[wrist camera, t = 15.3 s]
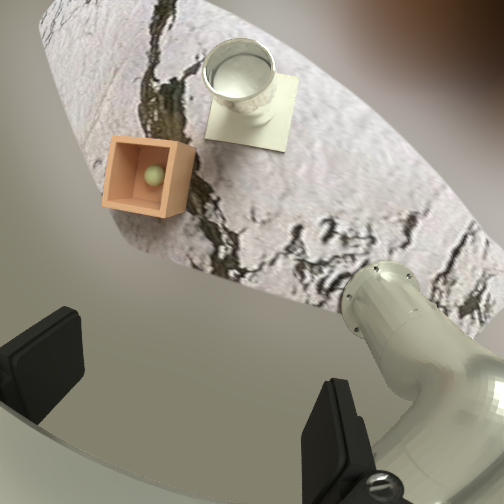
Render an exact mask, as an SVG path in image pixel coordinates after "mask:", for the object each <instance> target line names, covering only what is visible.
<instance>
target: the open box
mask: <svg viewBox="0 0 504 504" xmlns="http://www.w3.org/2000/svg"><path fill="white" fill-rule="evenodd" d="M195 153H196V148H194V147H191V146H189V145H186V144H183V143H181V142H178V141H169V140H160V139H150V138H139V137H128V136H114V135H112V138H111V143H110V149H109V155H108V161H107V168H106V175H105V182H104V190H103V198H102V207H107V208H113V209H118V210H124V211H129V212H134V213H139V214H145V215H150V216H155V217H160V218H168V217H171V216H174V215H177V214H180V213H183V212H185V211H186V204H187V198H188V192H189V186H190V180H191V175H192V169H193V164H194V158H195ZM153 164H157V165H160V166H162V167H163V168H164V170H165V172H166V173H165V179H164V182H163V183H162V184H160V185H158V186H151V185H149V184H148V183H147V182H146V181H145V178H144V173H145V170H146V169H147V168H148V167H149V166H150V165H153Z"/></svg>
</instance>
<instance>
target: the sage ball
mask: <svg viewBox="0 0 504 504" xmlns="http://www.w3.org/2000/svg"><path fill="white" fill-rule="evenodd" d="M165 173H166V172H165V170H164V168H163V167H162V166H160V165H157V164H153V165H150V166H149V167H148V168H147V169H146V170H145V173H144V178H145V181H146V182H147V183H148V184H149V185H151V186H158V185H160V184H162V183H163V182H164V179H165Z"/></svg>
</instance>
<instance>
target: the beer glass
mask: <svg viewBox="0 0 504 504" xmlns="http://www.w3.org/2000/svg"><path fill="white" fill-rule="evenodd" d="M202 77H203V81H204V83H205V85H206V87H207V88H208V90H209V92H210V94H211V96H212V97H213V99H214V100H215V101H216V103H217V104H218V105H219V106H221V107H222V108H223V109H224V110H226V111H227V112H229V113H231V114H232V116H233V117H234V119H235V120H236V121H237V122H238V123H240V124H242V125H244V126H247V127H258V126H261V125H263V124H265V123H267V122H268V121H269V120H270V119H271V118H272V117H273V115H274V112H275V109H276V103H275V97H276V94H277V90H278V74H277V70H276V66H275V61H274V58H273V56H272V54H271V53H270V51H269V50H268V49H267V48H266V47H265V46H264V45H262V44H261V43H259V42H257V41H254V40H251V39H246V38H235V39H230V40H227V41H224V42H222V43H220V44H219V45H217V46H216V47H214V48H213V49H212V50H211V51H210V52H209V53H208V55H207V56H206V58H205V60H204V63H203V66H202Z"/></svg>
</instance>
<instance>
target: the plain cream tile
mask: <svg viewBox="0 0 504 504" xmlns="http://www.w3.org/2000/svg"><path fill="white" fill-rule="evenodd" d="M277 74H278V90H277V94H276V97H275V103H276V109H275V112H274V115H273V117H272V118H271V119H270V120H269V121H268V122H267V123H265V124H263V125H261V126H258V127H247V126H244V125H242V124H240V123H238V122H237V121H236V120H235V119H234V117H233V116H232V114H231V113H229V112H227V111H226V110H224V109H223V108H222V107H221V106H219V105H218V104H217V103H216V101H215V100H214V99H213V101H212V106H211V110H210V115H209V120H208V124H207V129H206V134H205V139H210V140H217V141H224V142H230V143H236V144H243V145H248V146H254V147H260V148H265V149H270V150H276V151H281V152H285V150H286V145H287V140H288V134H289V129H290V124H291V119H292V114H293V108H294V103H295V98H296V93H297V87H298V82H299V77H295V76H290V75H284V74H279V73H277Z"/></svg>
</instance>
